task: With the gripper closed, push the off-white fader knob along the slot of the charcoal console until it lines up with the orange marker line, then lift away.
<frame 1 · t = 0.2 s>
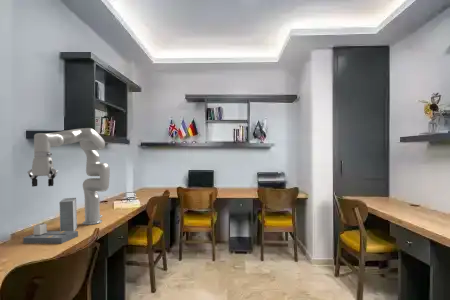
hand: (42, 186, 159), 31 cm above the table, tool pointing down, fingers open, 9 cm apart
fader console: (51, 239, 163), on the table
hard drive box: (68, 231, 182), on the table
fader knob: (40, 228, 164), point 6 cm above the table, slide at 0.0 cm
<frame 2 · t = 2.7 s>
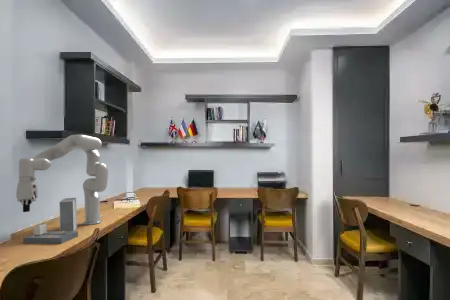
hand: (26, 211, 165), 16 cm above the table, tool pointing down, fingers closed
nothing on the table moved.
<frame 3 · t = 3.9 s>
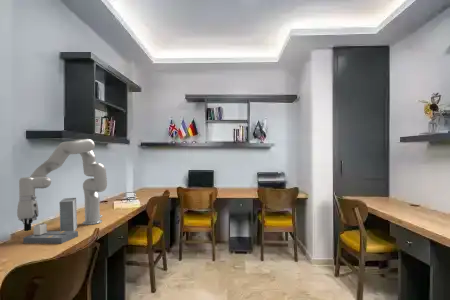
hand: (27, 230, 165), 5 cm above the table, tool pointing down, fingers closed
nothing on the table moved.
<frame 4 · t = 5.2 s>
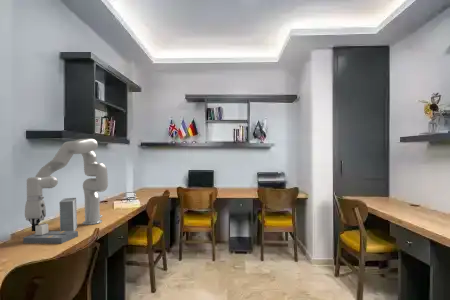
hand: (35, 230, 165), 5 cm above the table, tool pointing down, fingers closed
fader knob: (42, 228, 164), point 6 cm above the table, slide at 1.1 cm, touching gripper
everything else where it was.
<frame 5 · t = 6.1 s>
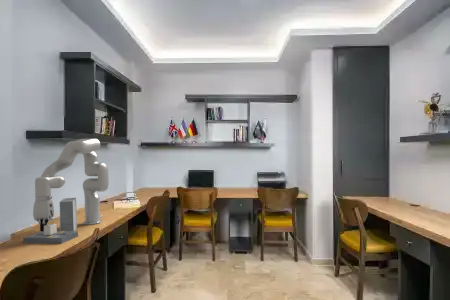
hand: (43, 230, 164), 5 cm above the table, tool pointing down, fingers closed
fader knob: (50, 228, 163), point 6 cm above the table, slide at 6.4 cm, touching gripper
everything else where it was.
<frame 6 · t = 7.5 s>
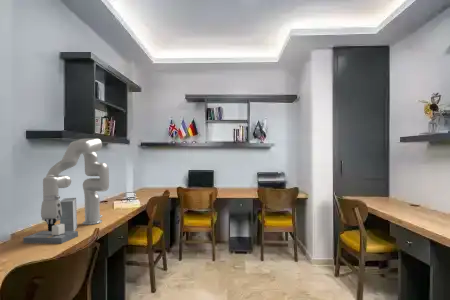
hand: (51, 230, 163), 5 cm above the table, tool pointing down, fingers closed
fader knob: (58, 229, 163), point 6 cm above the table, slide at 11.3 cm, touching gripper
everything else where it was.
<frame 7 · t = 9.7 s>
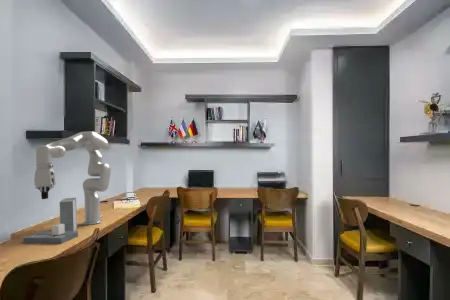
hand: (44, 198, 165), 23 cm above the table, tool pointing down, fingers closed
fader knob: (58, 229, 163), point 6 cm above the table, slide at 11.3 cm
everything else where it was.
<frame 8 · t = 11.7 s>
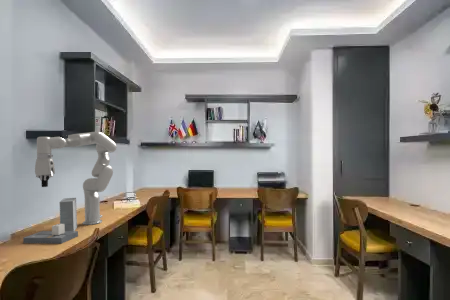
hand: (44, 186, 175), 29 cm above the table, tool pointing down, fingers closed
nothing on the table moved.
at the end: fader knob slide at 11.3 cm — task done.
